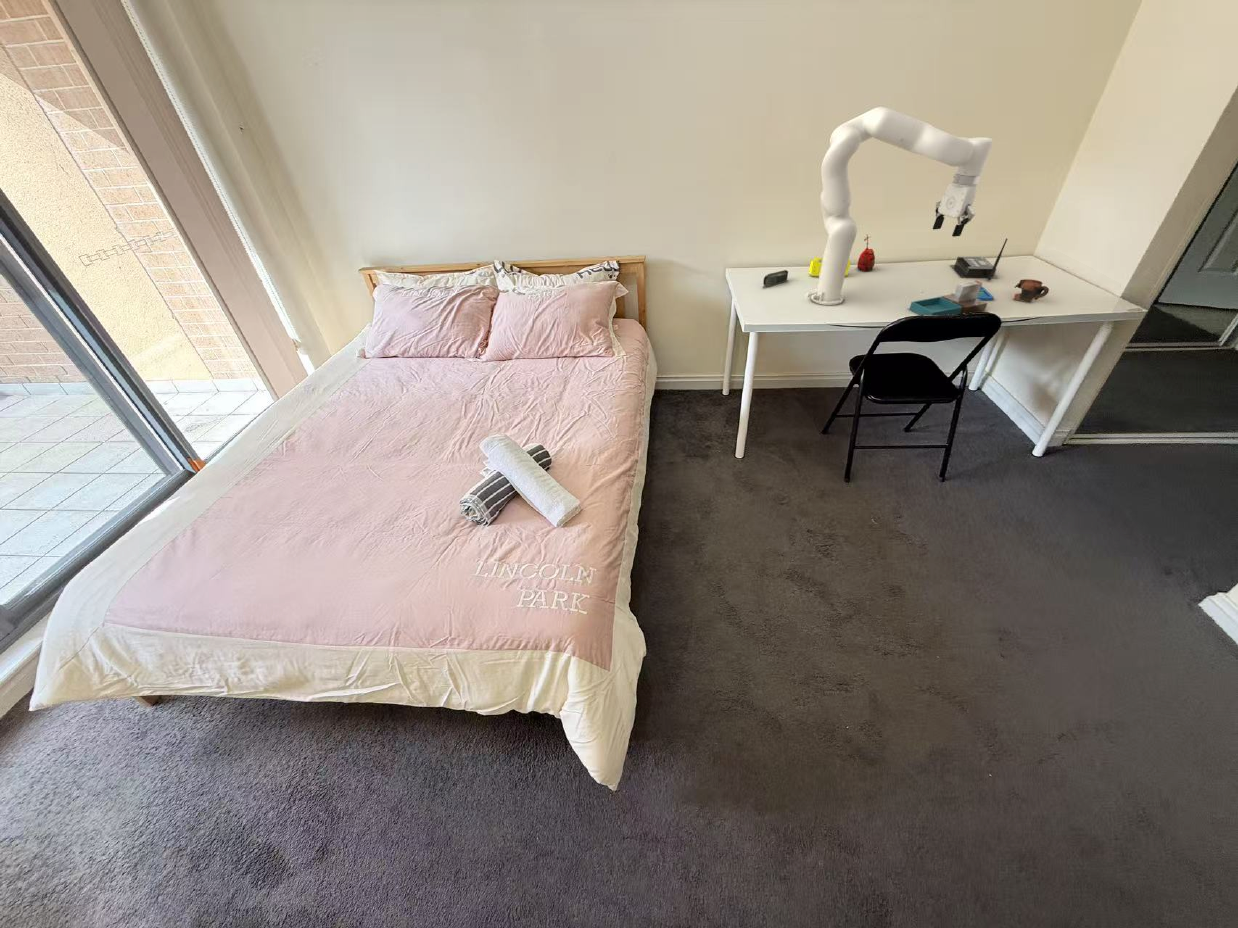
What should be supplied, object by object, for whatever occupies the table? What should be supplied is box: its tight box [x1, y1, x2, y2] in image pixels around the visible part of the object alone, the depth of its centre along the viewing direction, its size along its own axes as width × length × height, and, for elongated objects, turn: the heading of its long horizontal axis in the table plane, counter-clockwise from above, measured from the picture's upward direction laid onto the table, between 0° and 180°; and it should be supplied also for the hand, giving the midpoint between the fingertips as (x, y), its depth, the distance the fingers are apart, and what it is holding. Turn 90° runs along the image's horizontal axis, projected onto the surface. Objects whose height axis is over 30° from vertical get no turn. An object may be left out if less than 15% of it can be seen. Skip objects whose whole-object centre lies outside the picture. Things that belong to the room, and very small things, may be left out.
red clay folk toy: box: [856, 234, 876, 273], centre depth 222 cm, size 8×7×15 cm
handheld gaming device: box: [977, 285, 995, 301], centre depth 200 cm, size 8×1×15 cm
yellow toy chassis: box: [808, 257, 852, 278], centre depth 221 cm, size 16×6×8 cm, turn 83°
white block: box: [953, 280, 984, 302], centre depth 187 cm, size 8×3×6 cm, turn 105°
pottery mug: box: [1013, 278, 1050, 303], centre depth 192 cm, size 12×10×8 cm
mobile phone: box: [762, 269, 789, 289], centre depth 218 cm, size 5×3×15 cm
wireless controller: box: [950, 238, 1008, 281], centre depth 211 cm, size 20×14×17 cm
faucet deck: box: [940, 292, 988, 315], centre depth 190 cm, size 13×13×3 cm
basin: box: [908, 296, 963, 316], centre depth 188 cm, size 13×11×3 cm
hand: (945, 232), depth 181 cm, fingers open, 9 cm apart
